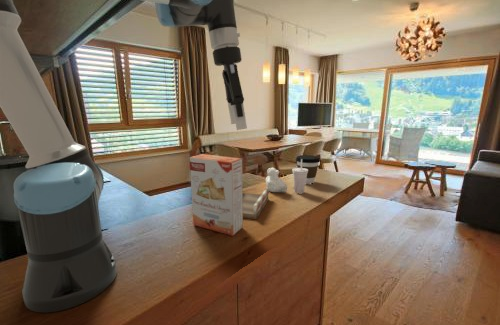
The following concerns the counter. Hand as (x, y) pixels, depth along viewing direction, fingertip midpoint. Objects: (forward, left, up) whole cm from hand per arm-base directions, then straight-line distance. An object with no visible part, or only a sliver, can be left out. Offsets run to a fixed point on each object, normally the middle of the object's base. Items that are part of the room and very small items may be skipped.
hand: (238, 126), depth 74 cm
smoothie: (+16, +29, -29) cm, 44 cm away
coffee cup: (+18, +44, -29) cm, 55 cm away
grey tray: (0, +9, -29) cm, 30 cm away
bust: (+6, +28, -29) cm, 40 cm away
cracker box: (-4, -8, -29) cm, 30 cm away
